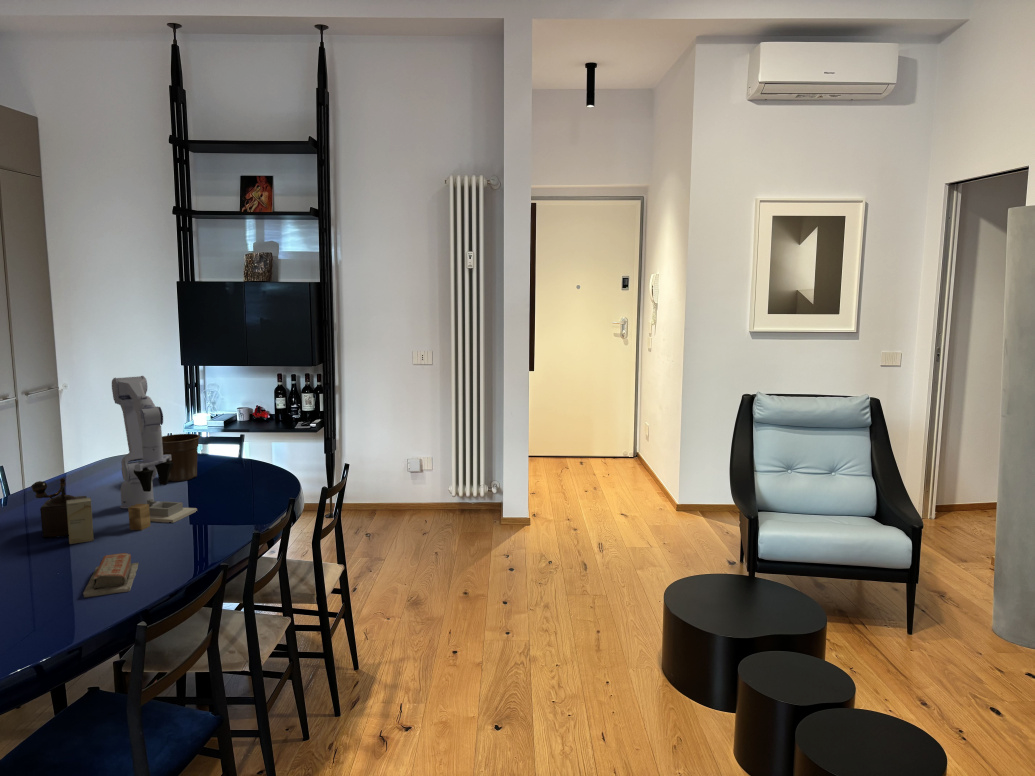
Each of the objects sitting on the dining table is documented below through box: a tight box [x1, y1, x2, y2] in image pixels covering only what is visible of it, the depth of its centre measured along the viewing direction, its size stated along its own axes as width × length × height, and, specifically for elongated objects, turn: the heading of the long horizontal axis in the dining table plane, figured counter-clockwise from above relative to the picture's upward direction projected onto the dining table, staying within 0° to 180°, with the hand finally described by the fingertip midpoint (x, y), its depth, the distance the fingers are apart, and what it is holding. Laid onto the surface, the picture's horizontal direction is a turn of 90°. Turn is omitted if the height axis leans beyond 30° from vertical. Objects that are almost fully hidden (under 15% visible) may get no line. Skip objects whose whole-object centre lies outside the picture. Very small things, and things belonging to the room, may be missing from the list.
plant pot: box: [162, 433, 201, 482], centre depth 275 cm, size 16×16×16 cm
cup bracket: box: [147, 499, 198, 524], centre depth 230 cm, size 14×12×5 cm
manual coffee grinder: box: [30, 477, 88, 538], centre depth 212 cm, size 16×11×18 cm
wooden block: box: [127, 504, 151, 531], centre depth 218 cm, size 4×4×7 cm
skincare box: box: [66, 497, 95, 545], centre depth 206 cm, size 6×4×12 cm
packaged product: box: [82, 552, 140, 598], centre depth 178 cm, size 18×5×10 cm
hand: (155, 487), depth 225 cm, fingers open, 7 cm apart
